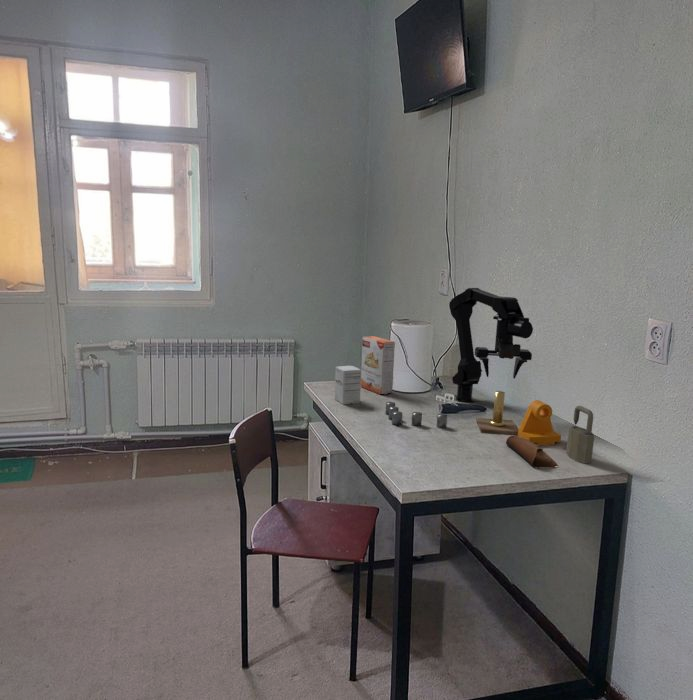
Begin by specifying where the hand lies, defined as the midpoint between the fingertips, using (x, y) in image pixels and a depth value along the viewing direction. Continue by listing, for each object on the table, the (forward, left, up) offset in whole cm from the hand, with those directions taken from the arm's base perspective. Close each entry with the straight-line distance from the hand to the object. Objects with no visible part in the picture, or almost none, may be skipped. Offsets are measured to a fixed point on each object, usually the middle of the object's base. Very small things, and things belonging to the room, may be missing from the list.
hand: (500, 377), depth 207 cm
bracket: (+28, +8, -13) cm, 32 cm away
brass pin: (+17, -3, -12) cm, 21 cm away
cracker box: (-22, -44, -13) cm, 51 cm away
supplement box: (-4, -54, -13) cm, 56 cm away
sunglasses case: (+41, +3, -14) cm, 44 cm away
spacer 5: (+20, -21, -13) cm, 32 cm away
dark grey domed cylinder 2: (+15, -37, -13) cm, 42 cm away
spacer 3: (+20, -36, -13) cm, 43 cm away
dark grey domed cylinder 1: (+9, -38, -13) cm, 41 cm away
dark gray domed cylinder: (+19, -29, -13) cm, 37 cm away
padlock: (+41, +16, -13) cm, 46 cm away
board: (+17, -3, -13) cm, 22 cm away
